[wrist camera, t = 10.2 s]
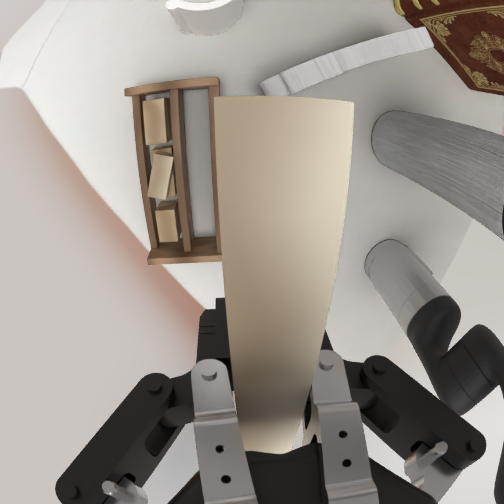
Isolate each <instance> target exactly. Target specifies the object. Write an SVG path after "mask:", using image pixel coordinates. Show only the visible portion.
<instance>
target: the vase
mask: <svg viewBox="0 0 504 504" xmlns="http://www.w3.org/2000/svg"><path fill="white" fill-rule="evenodd" d="M372 147H373V150H374V153H375V155H376V157H377V158H378V160H379V161H380V162H381V163H382V164H384V165H385V166H387V167H388V168H390V169H392V170H394V171H396V172H398V173H400V174H402V175H403V176H405V177H407V178H409V179H411V180H413V181H414V182H416V183H418V184H420V185H421V186H423V187H425V188H427V189H428V190H430V191H432V192H433V193H435V194H437V195H438V196H440V197H442V198H443V199H445V200H446V201H448V202H450V203H451V204H453V205H454V206H456V207H457V208H459V209H460V210H462V211H463V212H465V213H466V214H468V215H469V216H471V217H472V218H474V219H475V220H477V221H478V222H480V223H481V224H482V225H484V226H485V227H486V228H488V229H489V230H491V231H492V232H493V233H495V234H496V235H497V236H499V237H500V238H501V239H502V240H504V136H502V135H499V134H496V133H493V132H490V131H486V130H483V129H480V128H476V127H473V126H469V125H465V124H461V123H458V122H453V121H449V120H445V119H440V118H436V117H431V116H426V115H421V114H415V113H410V112H403V111H390V112H387V113H385V114H384V115H382V116H381V117H380V118H379V119H378V120H377V122H376V124H375V126H374V128H373V132H372Z"/></svg>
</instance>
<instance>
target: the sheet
mask: <svg viewBox="0 0 504 504" xmlns="http://www.w3.org/2000/svg"><path fill="white" fill-rule="evenodd" d="M214 118H215V145H216V168H217V188H218V205H219V222H220V237H221V252H222V265H223V278H224V291H225V303H226V314H227V325H228V336H229V346H230V356H231V366H232V375H233V384H234V393H235V402H236V410H237V418H238V423H239V427H240V432H241V436H242V441H243V445H244V450H245V451H258V452H265V453H274V454H284V453H287V452H289V451H291V450H292V447H293V444H294V441H295V438H296V434H297V431H298V428H299V425H300V422H301V419H302V415H303V412H304V409H305V405H306V402H307V399H308V395H309V391H310V388H311V384H312V380H313V377H314V373H315V369H316V365H317V361H318V357H319V353H320V349H321V345H322V341H323V336H324V332H325V327H326V323H327V318H328V313H329V308H330V304H331V299H332V293H333V288H334V283H335V277H336V272H337V266H338V260H339V254H340V247H341V241H342V234H343V227H344V219H345V212H346V203H347V195H348V185H349V175H350V164H351V152H352V138H353V120H354V102H349V101H340V100H331V99H321V98H308V97H291V96H222V97H214Z"/></svg>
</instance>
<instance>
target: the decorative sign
mask: <svg viewBox="0 0 504 504" xmlns="http://www.w3.org/2000/svg"><path fill="white" fill-rule="evenodd" d="M433 46H434V44H433V42H432V40H431V38H430V35H429V33H428V31H427V29H426V27H420V28H414V29H409V30H405V31H401V32H396V33H393V34H389V35H385V36H381V37H378V38H374V39H371V40H368V41H364V42H361V43H358V44H355V45H352V46H349V47H346V48H343V49H340V50H337V51H334V52H330V53H328V54H325V55H322V56H320V57H317V58H314V59H312V60H309V61H307V62H304V63H302V64H299V65H297V66H295V67H292V68H290V69H288V70H285V71H283V72H281V73H279V74H277V75H275V76H273V77H271V78H269V79H266V80H264V81H262V82H261V83H260V84H259V85H260V87H261V89H262V90H263V92H264V94H265V96H287V95H289V94H294V93H296V92H298V91H300V90H303V89H305V88H307V87H310V86H312V85H314V84H317V83H319V82H322V81H324V80H327V79H329V78H332V77H334V76H337V75H340V74H342V73H344V72H345V71H348V70H350V69H353V68H356V67H359V66H362V65H365V64H368V63H372V62H375V61H379V60H383V59H386V58H390V57H394V56H398V55H403V54H407V53H411V52H416V51H421V50H425V49H426V48H431V47H433Z"/></svg>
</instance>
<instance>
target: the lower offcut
mask: <svg viewBox="0 0 504 504" xmlns="http://www.w3.org/2000/svg"><path fill="white" fill-rule="evenodd" d="M158 151H159V152H165V153H170V154H174V153H173V145H170V146H161V147H155V148H154V149H152V150H151V152H152V162H153V159H154V154H155V153H156V152H158ZM176 195H177V186H176V176H175V165H174V167H173V172H172V177H171V183H170V188H169V193H168V197H175V196H176Z"/></svg>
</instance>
